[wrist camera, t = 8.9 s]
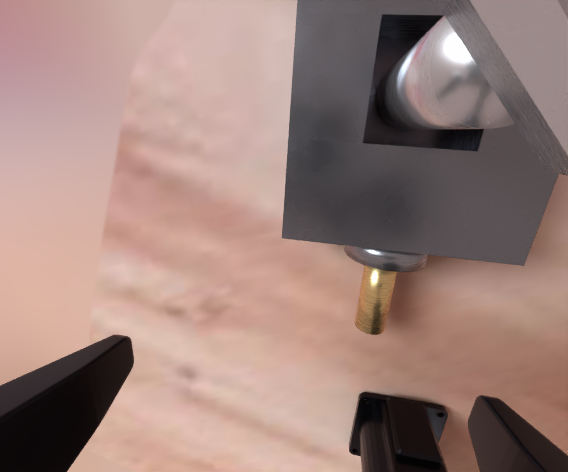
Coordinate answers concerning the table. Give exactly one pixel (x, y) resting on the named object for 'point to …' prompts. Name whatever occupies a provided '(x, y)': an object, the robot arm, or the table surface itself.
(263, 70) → the table surface
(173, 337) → the table surface
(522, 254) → the block
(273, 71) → the table surface
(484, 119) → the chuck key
